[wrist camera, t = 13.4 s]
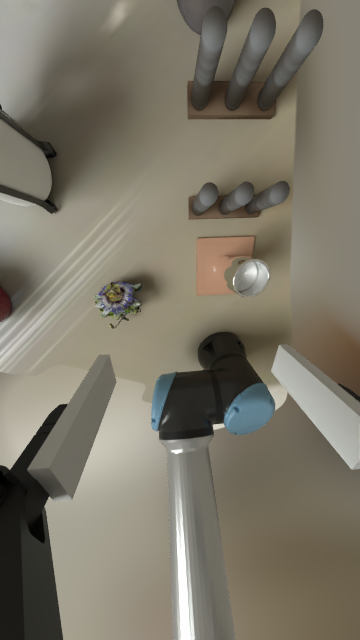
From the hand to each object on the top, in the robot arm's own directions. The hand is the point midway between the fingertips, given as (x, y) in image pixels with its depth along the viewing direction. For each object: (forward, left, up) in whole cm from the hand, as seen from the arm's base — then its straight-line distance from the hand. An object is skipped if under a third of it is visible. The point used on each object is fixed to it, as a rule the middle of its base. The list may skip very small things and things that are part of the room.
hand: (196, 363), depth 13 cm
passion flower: (-4, +14, -33) cm, 36 cm away
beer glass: (+3, -13, -32) cm, 35 cm away
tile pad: (+3, -13, -33) cm, 35 cm away
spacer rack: (+24, -12, -33) cm, 42 cm away
